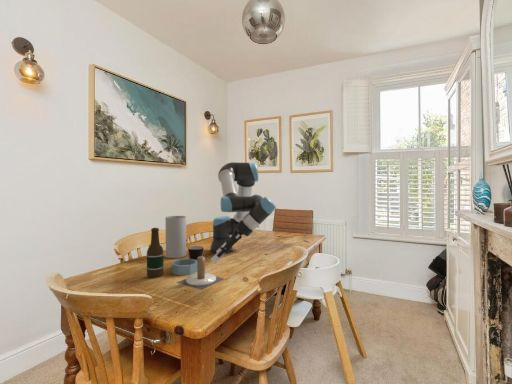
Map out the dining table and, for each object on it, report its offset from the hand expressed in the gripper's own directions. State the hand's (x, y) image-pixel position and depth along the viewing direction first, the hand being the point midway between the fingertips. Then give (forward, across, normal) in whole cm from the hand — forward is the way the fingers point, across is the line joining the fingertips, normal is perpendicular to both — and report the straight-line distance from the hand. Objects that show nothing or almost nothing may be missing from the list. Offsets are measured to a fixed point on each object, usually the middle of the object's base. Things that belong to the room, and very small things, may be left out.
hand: (215, 257), depth 127 cm
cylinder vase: (+32, +45, +15) cm, 57 cm away
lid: (+13, +1, -3) cm, 13 cm away
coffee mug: (+19, +28, +3) cm, 34 cm away
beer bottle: (+30, +7, +14) cm, 34 cm away
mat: (+13, +1, -3) cm, 14 cm away
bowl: (+21, +15, +5) cm, 26 cm away
